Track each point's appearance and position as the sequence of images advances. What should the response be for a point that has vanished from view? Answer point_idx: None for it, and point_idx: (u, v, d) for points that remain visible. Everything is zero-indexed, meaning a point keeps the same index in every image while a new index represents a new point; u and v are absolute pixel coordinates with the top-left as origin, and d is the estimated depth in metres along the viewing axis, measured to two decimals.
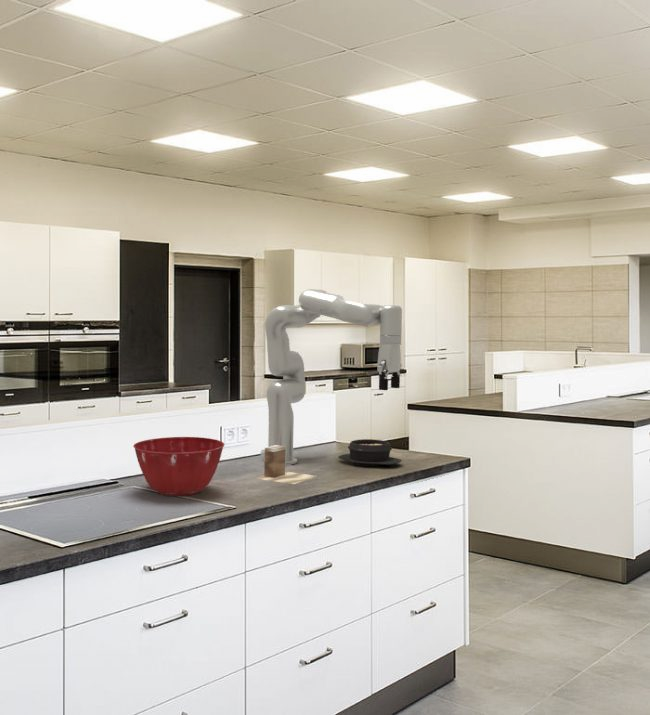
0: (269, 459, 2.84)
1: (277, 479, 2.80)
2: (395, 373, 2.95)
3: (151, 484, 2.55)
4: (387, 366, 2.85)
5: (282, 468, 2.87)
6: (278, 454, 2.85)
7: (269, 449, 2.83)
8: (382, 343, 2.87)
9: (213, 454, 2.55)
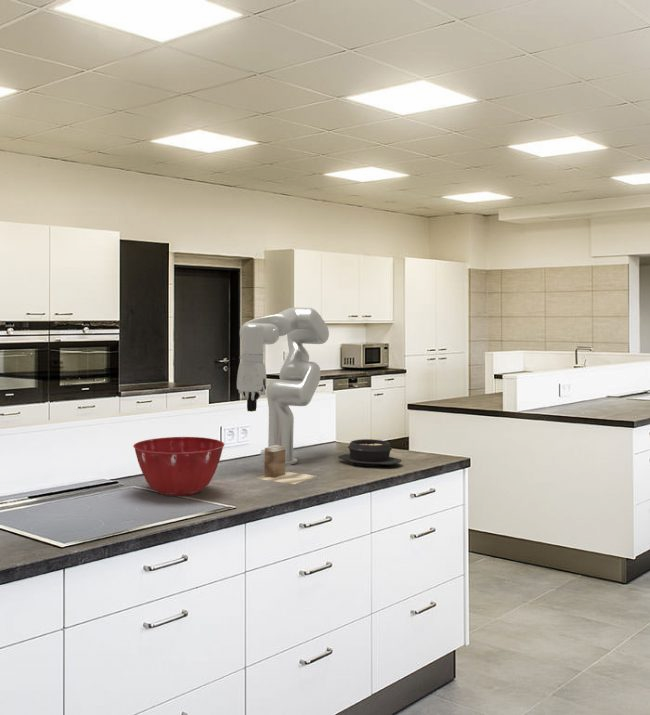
0: (269, 459, 2.84)
1: (277, 479, 2.80)
2: None
3: (151, 484, 2.55)
4: (266, 384, 2.89)
5: (282, 468, 2.87)
6: (278, 454, 2.85)
7: (269, 449, 2.83)
8: (258, 362, 2.87)
9: (213, 454, 2.55)
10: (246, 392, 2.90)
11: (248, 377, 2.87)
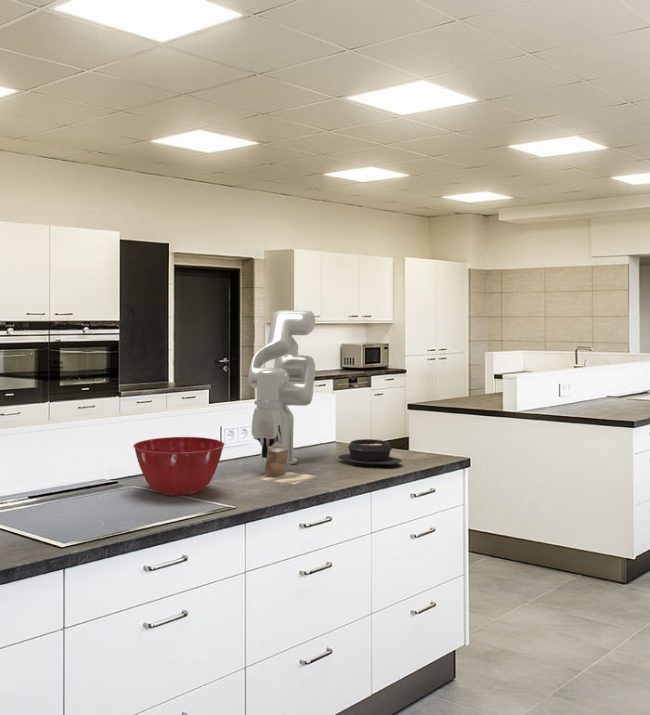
0: (271, 458, 2.83)
1: (277, 479, 2.80)
2: None
3: (151, 484, 2.55)
4: (281, 431, 2.86)
5: (283, 468, 2.87)
6: (280, 454, 2.84)
7: (272, 449, 2.83)
8: (273, 409, 2.84)
9: (213, 454, 2.55)
10: (261, 438, 2.87)
11: (263, 423, 2.85)
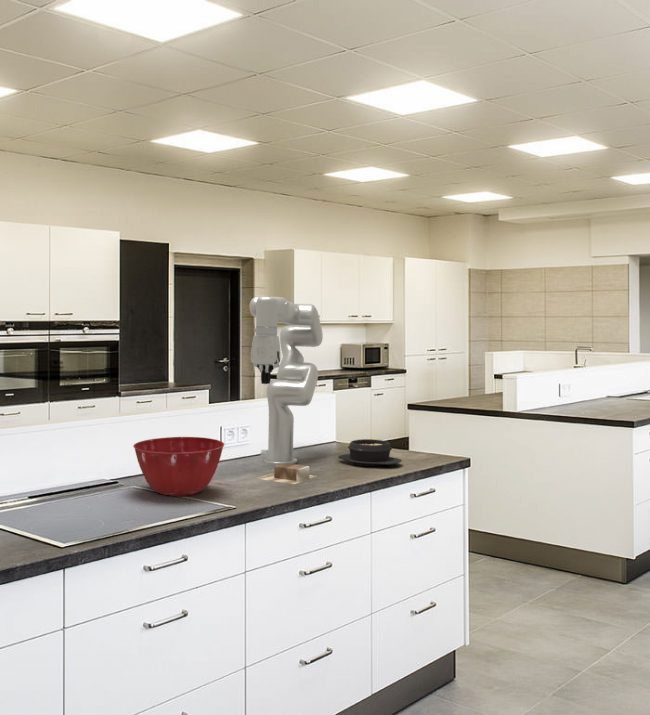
0: (289, 473, 2.80)
1: (277, 479, 2.80)
2: None
3: (151, 484, 2.55)
4: None
5: None
6: None
7: (298, 475, 2.78)
8: (272, 335, 2.88)
9: (213, 454, 2.55)
10: (260, 365, 2.91)
11: (262, 350, 2.89)
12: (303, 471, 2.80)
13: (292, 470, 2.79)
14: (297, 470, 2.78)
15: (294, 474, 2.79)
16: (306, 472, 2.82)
